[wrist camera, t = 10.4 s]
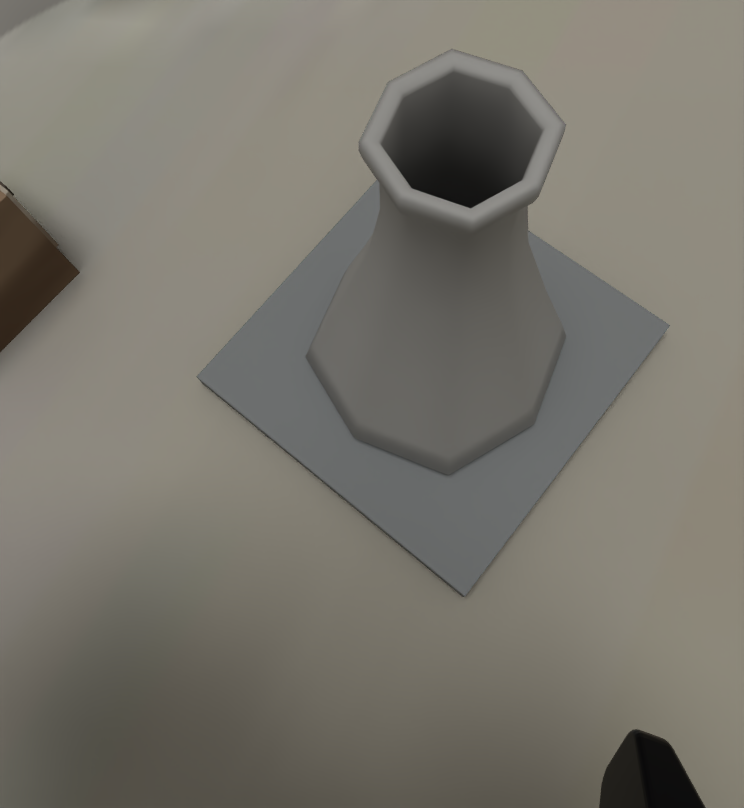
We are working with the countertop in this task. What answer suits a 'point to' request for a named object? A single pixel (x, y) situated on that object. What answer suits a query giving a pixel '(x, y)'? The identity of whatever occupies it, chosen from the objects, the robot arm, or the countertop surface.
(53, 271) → the letter cube
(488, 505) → the grey coaster
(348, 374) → the flask
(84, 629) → the countertop surface
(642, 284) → the countertop surface
